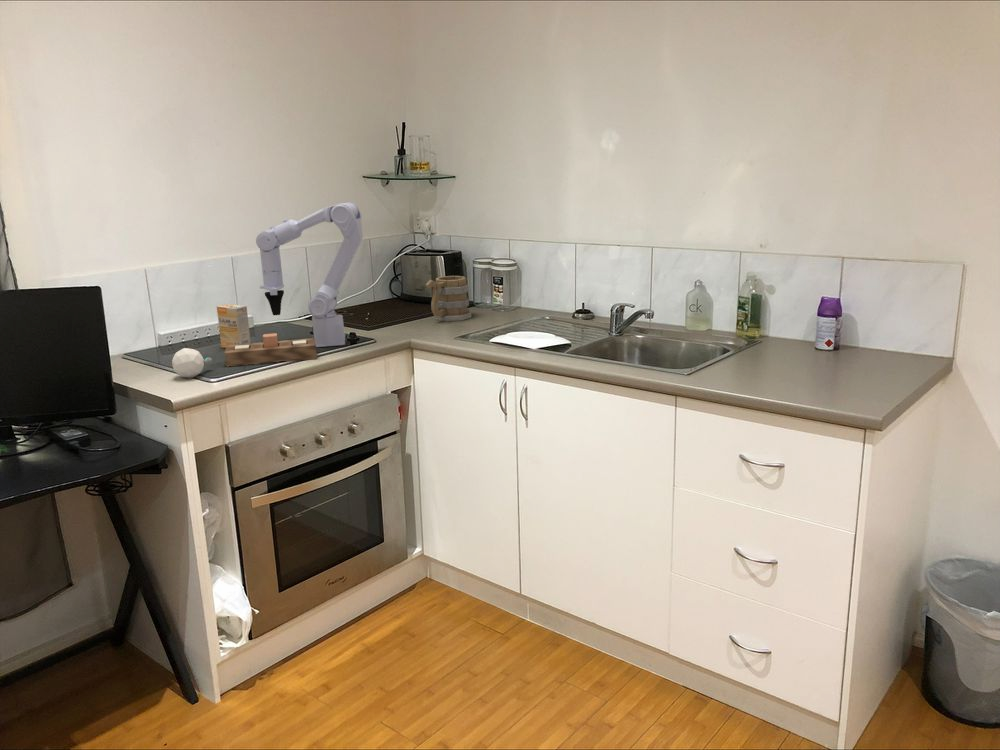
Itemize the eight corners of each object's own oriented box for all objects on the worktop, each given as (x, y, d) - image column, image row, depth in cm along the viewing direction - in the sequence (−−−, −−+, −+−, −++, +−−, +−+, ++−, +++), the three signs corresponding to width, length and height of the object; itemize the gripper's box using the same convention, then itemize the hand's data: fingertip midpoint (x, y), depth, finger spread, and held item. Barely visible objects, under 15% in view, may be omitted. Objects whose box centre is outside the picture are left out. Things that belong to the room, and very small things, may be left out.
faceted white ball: (160, 365, 215) (194, 360, 226) (179, 386, 213) (213, 379, 224) (172, 343, 212) (206, 339, 223) (192, 363, 210) (225, 358, 221)
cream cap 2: (307, 352, 238) (305, 339, 237) (307, 355, 234) (306, 342, 233) (293, 353, 237) (292, 341, 236) (294, 356, 233) (292, 343, 232)
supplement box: (220, 348, 249) (215, 306, 245) (232, 344, 253) (227, 303, 249) (240, 350, 245) (235, 307, 242) (252, 346, 249) (247, 305, 246)
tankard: (450, 312, 293) (448, 271, 288) (477, 316, 285) (476, 273, 281) (413, 323, 277) (410, 279, 273) (441, 326, 270) (439, 282, 266)
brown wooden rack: (315, 351, 242) (314, 337, 240) (317, 358, 232) (316, 345, 231) (228, 358, 236) (226, 345, 235) (226, 366, 226) (224, 353, 225)
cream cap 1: (250, 357, 234) (249, 344, 233) (250, 360, 231) (248, 347, 230) (236, 358, 233) (235, 345, 232) (236, 361, 230) (234, 348, 229)
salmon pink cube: (278, 345, 235) (276, 333, 234) (278, 348, 232) (276, 335, 231) (264, 346, 234) (263, 334, 233) (264, 349, 231) (262, 337, 230)
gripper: (258, 268, 251) (263, 311, 255) (257, 274, 237) (262, 320, 241) (282, 266, 253) (286, 309, 256) (282, 273, 239) (287, 318, 243)
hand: (276, 314), depth 249 cm, fingers closed
